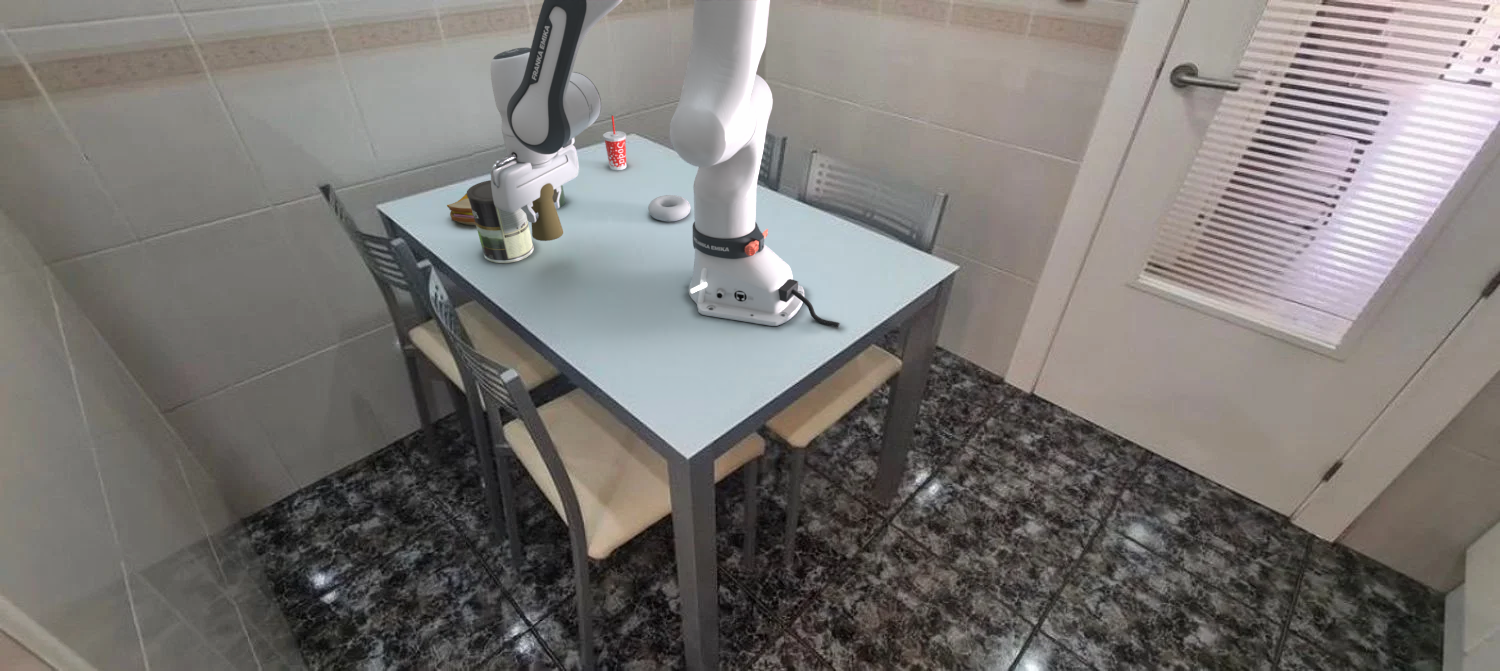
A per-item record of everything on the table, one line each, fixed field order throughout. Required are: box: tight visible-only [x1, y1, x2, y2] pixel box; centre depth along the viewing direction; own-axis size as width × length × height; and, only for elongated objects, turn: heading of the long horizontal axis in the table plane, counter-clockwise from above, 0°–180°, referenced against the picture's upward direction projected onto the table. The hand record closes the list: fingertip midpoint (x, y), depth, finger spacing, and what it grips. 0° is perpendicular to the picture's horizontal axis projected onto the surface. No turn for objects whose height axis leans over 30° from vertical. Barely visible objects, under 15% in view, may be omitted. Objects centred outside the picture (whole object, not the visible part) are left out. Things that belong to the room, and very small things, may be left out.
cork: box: [530, 183, 564, 242], centre depth 119 cm, size 6×6×11 cm
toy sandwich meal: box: [446, 192, 476, 226], centre depth 142 cm, size 12×14×5 cm
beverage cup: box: [602, 115, 627, 171], centre depth 165 cm, size 6×6×14 cm
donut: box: [648, 194, 692, 222], centre depth 145 cm, size 10×3×10 cm
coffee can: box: [466, 179, 535, 264], centre depth 126 cm, size 10×10×14 cm
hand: (544, 214), depth 120 cm, fingers closed on cork, 4 cm apart
